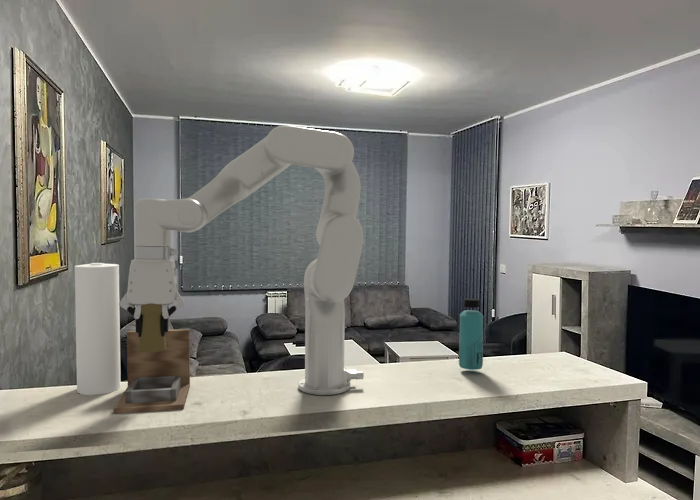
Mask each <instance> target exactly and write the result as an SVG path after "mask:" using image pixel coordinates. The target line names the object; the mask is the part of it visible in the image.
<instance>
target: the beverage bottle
mask: <svg viewBox="0 0 700 500" xmlns="http://www.w3.org/2000/svg"><path fill="white" fill-rule="evenodd" d="M463 301H464V302H463V307H465V308H472V309H473V308H474V309H476V308H479V307H480V300H479V299H478V298H464V300H463ZM472 309H471V310H469V309H467V310H466V309H465V310H463V311H462V312H460V314H459V337H458V338H459V340H458V347H459V348H458V365H459V367H460V368H461V369H463V370H464V369H465V370H470V371H477V370H481V369H482V368H483V365H484V315H483V314H482V313H481V312H480V311H479V310H472Z"/></svg>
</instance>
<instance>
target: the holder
mask: <svg viewBox="0 0 700 500" xmlns="http://www.w3.org/2000/svg"><path fill="white" fill-rule="evenodd" d="M190 330H191V329H190V328H187V329H186V328H185V329H184V328H183V329H182V328H181V329H168V332H166V334H165V342H166V350H163V351H159V352H140V351H138V344H139V337H138V333H136V330H128V331H127V332H126V353H127V354H126V357H127V360H126V362H127V373H126V374H127V387H126V389H125V390H124V392H123V393H122V394H121V397H119V399H118V401H117V402H116V404H115V406H114V407H113V410H112V411H113V412H112V413H113V414H126V413H127V414H128V413H141V412H142V413H143V412H158V411H171V410H172V411H176V410H184V408H185V406H186V402H187V399H188V394H189V391H190V388H191V364H190V363H191V357H190V356H191V352H190V351H191V350H190V347H191V346H190V345H191V344H190V342H191V339H190V335H191V334H190V333H191V331H190Z"/></svg>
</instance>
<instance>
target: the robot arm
mask: <svg viewBox="0 0 700 500" xmlns="http://www.w3.org/2000/svg"><path fill="white" fill-rule="evenodd" d="M354 156H355V148H354V145H353V143H352V141H351V140H350V138H348V137H347V136H346V135H344V134H342V133H339V132H336V131H329V130H321V129H315V128H307V127H302V126H294V125H285V124H283V125H278V126H275V127H274V128H273V129H271V130H270V131H269V133H268V134H267V135H266V136H265V137H264V138H262V139H261V140H259V142H257V143H255V144H254V145H253V146H252V147H250V148H249V149H247V150H246V151H245V152H243V153H241V154H240V155H239V156H237V157H235V158H234V159H233V160H231V161H230V162H229V163H227V164H226V165H225V166H223V168H222V169H221V170H220V171H219V172H218V174H217V175H216V176H215V177H214V178H213V179H212V180H210V182H209V181H208V183H207V184H206V185H204V186H203V187H201V188H200V189H199V190H197V191H196V192H194V193H193V194H192V195H190V196H189V197H187V198H180V199H179V198H177V199H165V198H155V197H154V198H151V197H150V198H148V197H146V198H145V197H143V198H139V199H137V200H136V202H135V204H134V259H131V261H130V264H129V272H128V282H127V291H126V293H125V294H124V295H123V296H122V298H121V299H120V300H119V308H120V307H121V308H122V309H124V310H126V311H127V312H128V313H129V315H130V314H131V316H132V317H133V318H134V319H135V331H136V333H138V337H141V334H142V316H143V315H142V314H141V306H142V305H145V304H149V303H153V304H158V305H161V306H162V319H161V336H162V337H164V336H165V334H166V332H168V330H169V319H170V318H169V317H171V315H173V314H174V313H175V312H176V311H177V310H179V309H181V308H182V307H184V306H185V304H186V302H185V300H184V298H183V297H182V296H181V295H180V293H179V291H178V282H177V281H178V280H177V270H176V269H177V267H176V262H175V260H174V259H171V258H172V257H173V256H178V249H176V248H175V249H174V248H173V247H172V246H171V245H172V243H171V242H172V241H171V240H172V239H171V236H172V234H171V233H172V231H174V232H175V231H176V232H182V233H194V232H197V231H199V230H201V229H202V228H203V227H204V226H206V225H207V224H209V222H211V221H213V220H214V219H215V218H216V217H218V216H219V215H221V214H223V213H224V212H225V211H226V210H228V209H229V208H230V207H233V205H235V204H237V203H239V202H241V201H243V200H244V199H246V198H247V197H249V196H251V195H252V194H254V193H255V192H256V191H257V190H258V189H260V188H262V187H263V186H264V185H266V184H267V183H268V182H269V181H271V180H272V179H274V178H276V176H278V175H280V174H281V172H282V173H283V171H285V170H286V169H287V168H289V167H290V166H293V165H294V166H299V167H305V168H314V169H315V170H316V171H317V172H318V173H319V174H321V176H322V178H323V181H324V185H325V187H324V188H325V189H324V195H323V202H322V203H323V204H322V207H321V211H320V215H319V219H318V223H317V228H316V232H315V237H316V238H315V239H316V241H317V243H318V245H319V249H318V253H317V258H316V259H314V260H313V261H311V262H310V263H309V264H308V265H307V267H306V269H305V272H304V276H303V291H304V305H305V306H304V309H305V310H304V311H305V313H304V315H305V317H304V319H305V321H304V323H305V324H304V327H305V328H304V329H305V330H304V334H305V335H304V336H305V337H304V344H305V345H304V353H305V354H304V378H302V379H300V380H299V382H298V389H299V390H300V391H301V392H303V393H306V394H310V395H316V396H317V395H318V396H330V395H331V396H332V395H338V394H342V393H345V392H347V391H349V390H350V389H351V381H352V380H363V379H364V377H365V375H364V372H363V371H362V370H361V371H360V370H359V371H357V370H356V369H349V370H348V369H346V367H345V330H346V329H345V325H346V324H345V321H346V317H345V316H346V315H345V313H346V312H345V311H346V310H345V307H346V306H345V299H346V298H347V297H348V296H349V295H350V294H351V291H352V290H353V287H354V286H355V282H356V277H357V272H358V269H359V264H360V260H361V254H362V250H363V246H364V245H363V244H364V230H363V227H362V225H361V222H360V221H359V220H358V218H357V215H358V210H359V203H360V197H361V190H362V189H361V186H362V185H361V179H360V175H359V172H358V171H357V168H356V166H355V164H354V162H353V159H354ZM175 302H176V303H175ZM174 303H175V304H174ZM172 304H173V305H172ZM170 305H172V306H170Z"/></svg>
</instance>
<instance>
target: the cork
mask: <svg viewBox="0 0 700 500" xmlns="http://www.w3.org/2000/svg"><path fill="white" fill-rule="evenodd" d="M141 314H142V315H143V316H142V334H141V337H139V344H138V351H140V352H159V351H163V350H166V342H165V336H164V337H162V336H161V319H162V315H163V314H162V306H161V305H158V304H153V303H149V304H145V305H142V306H141Z"/></svg>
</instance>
